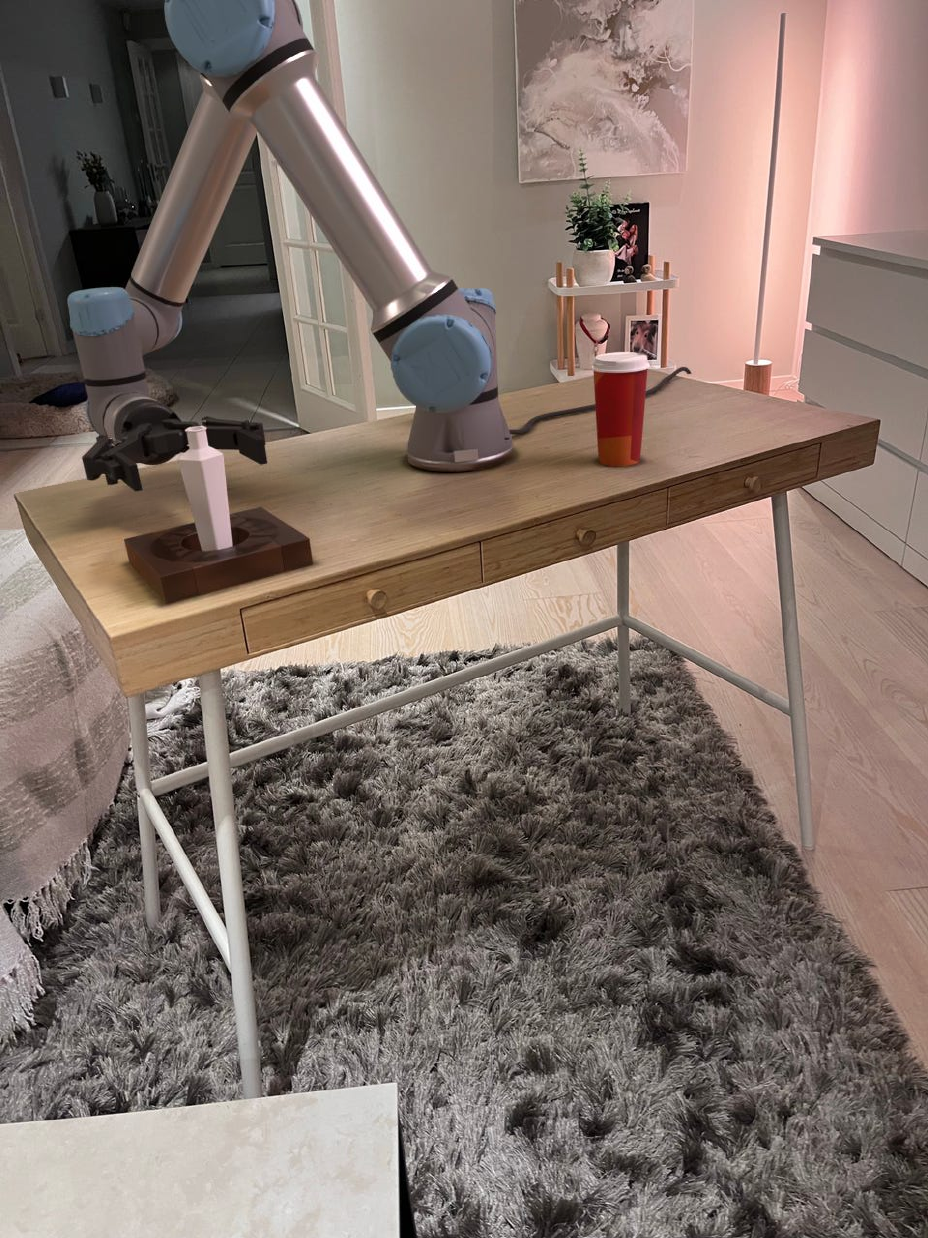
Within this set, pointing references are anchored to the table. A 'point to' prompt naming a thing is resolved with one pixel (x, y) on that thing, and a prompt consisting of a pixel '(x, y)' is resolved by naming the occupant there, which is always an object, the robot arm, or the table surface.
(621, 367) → the paper cup
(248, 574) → the socket pad
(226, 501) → the perfume bottle
